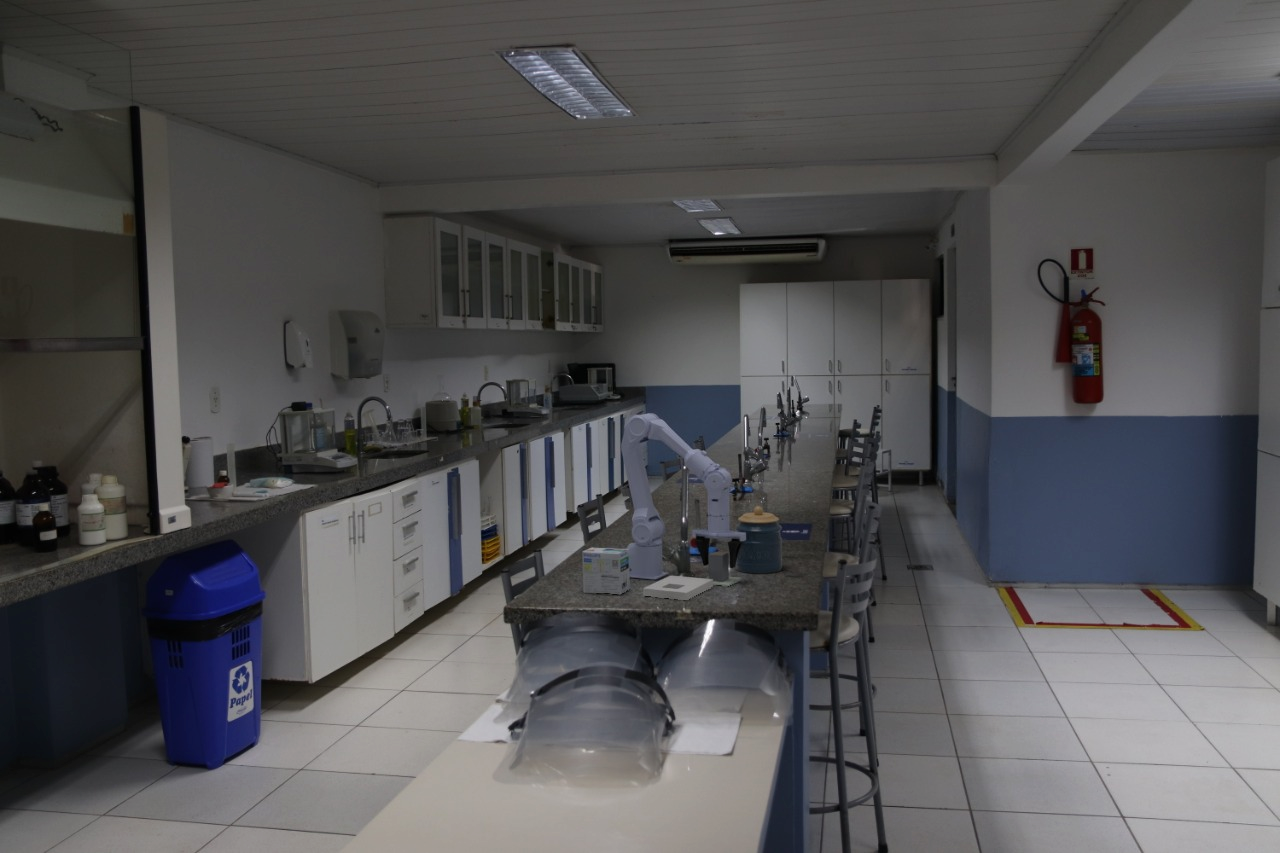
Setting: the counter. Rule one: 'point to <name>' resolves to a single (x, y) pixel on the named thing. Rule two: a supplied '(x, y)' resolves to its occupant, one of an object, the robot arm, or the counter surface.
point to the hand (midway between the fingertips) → (719, 566)
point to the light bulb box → (606, 570)
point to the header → (678, 587)
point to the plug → (719, 566)
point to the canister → (759, 543)
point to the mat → (727, 582)
